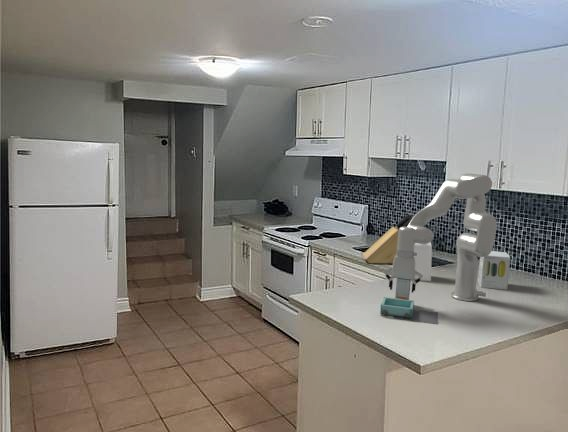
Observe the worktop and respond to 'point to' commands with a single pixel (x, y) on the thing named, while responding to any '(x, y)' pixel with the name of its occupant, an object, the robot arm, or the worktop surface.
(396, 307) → the teal open tray
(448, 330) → the worktop surface
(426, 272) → the milk
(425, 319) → the mat
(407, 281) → the skincare box
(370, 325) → the worktop surface
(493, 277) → the supplement box
